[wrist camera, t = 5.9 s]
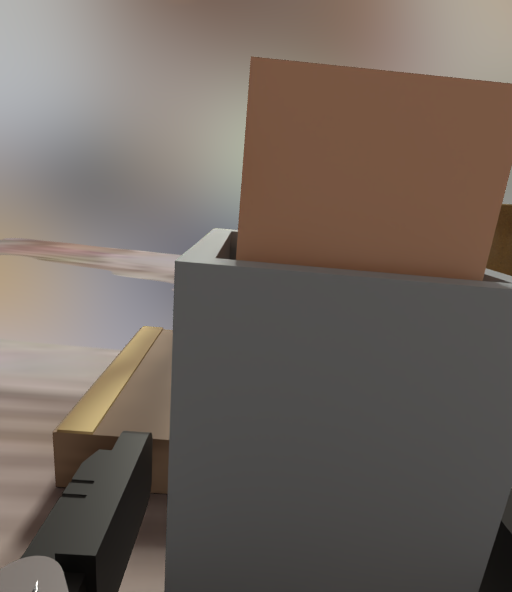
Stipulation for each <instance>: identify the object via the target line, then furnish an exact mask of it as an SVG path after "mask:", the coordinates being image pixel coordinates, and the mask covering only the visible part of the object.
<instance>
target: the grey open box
mask: <svg viewBox="0 0 512 592" xmlns="http://www.w3.org/2000/svg"><path fill="white" fill-rule="evenodd" d="M237 238H238V230H231V229H219V228H214V229H213V230H212V231H211V232H209V233H208V234H207V235H206V236H205V237H203V238H202V239H201V240H200V241H199V242H197V243H196V244H195V245H194V246H192V247H191V248H190V249H189V250H188V251H186V252H185V253H184V254H183V255H182V256H180V257H179V258H178V259H177V260H176V261H175V278H174V310H173V341H172V372H171V404H170V435H169V466H168V498H167V529H166V560H165V591H164V592H478V591H479V588H480V585H481V582H482V579H483V576H484V573H485V569H486V566H487V563H488V560H489V557H490V554H491V551H492V547H493V544H494V541H495V538H496V535H497V532H498V529H499V526H500V522H501V519H502V516H503V513H504V510H505V507H506V504H507V500H508V497H509V494H510V491H511V488H512V276H510V275H506V274H503V273H500V272H497V271H493V270H490V269H487V268H486V269H485V273H484V277H483V281H477V280H465V279H453V278H442V277H430V276H418V275H406V274H395V273H383V272H371V271H359V270H348V269H336V268H324V267H312V266H301V265H289V264H277V263H265V262H254V261H242V260H236V251H237Z"/></svg>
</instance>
